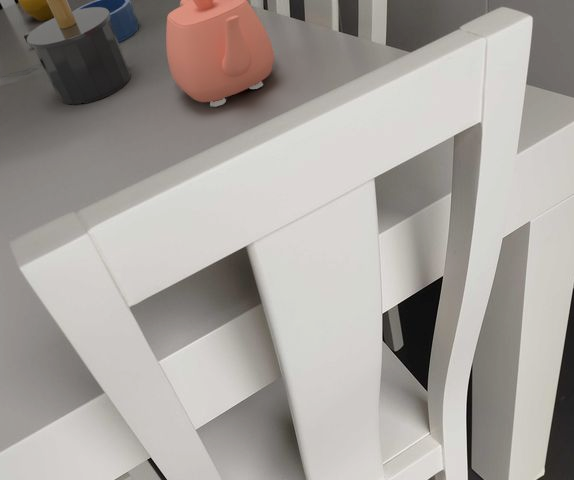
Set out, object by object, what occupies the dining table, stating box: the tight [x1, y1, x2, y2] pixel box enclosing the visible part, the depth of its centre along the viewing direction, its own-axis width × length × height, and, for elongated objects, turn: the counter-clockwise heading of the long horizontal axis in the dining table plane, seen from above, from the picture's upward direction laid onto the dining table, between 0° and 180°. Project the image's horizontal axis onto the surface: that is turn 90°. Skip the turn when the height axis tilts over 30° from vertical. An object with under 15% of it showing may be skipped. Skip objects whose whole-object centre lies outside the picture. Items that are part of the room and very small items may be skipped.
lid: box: [26, 0, 111, 49], centre depth 85 cm, size 13×13×6 cm
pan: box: [73, 0, 140, 43], centre depth 106 cm, size 12×12×4 cm
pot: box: [33, 20, 132, 105], centre depth 90 cm, size 12×12×8 cm
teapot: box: [165, 0, 275, 103], centre depth 77 cm, size 13×20×12 cm, turn 27°
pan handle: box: [23, 30, 33, 44], centre depth 105 cm, size 8×2×1 cm, turn 102°
